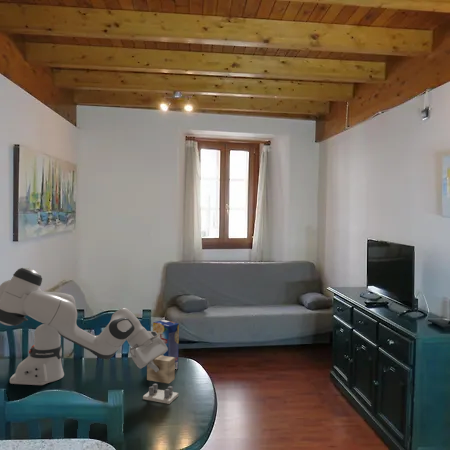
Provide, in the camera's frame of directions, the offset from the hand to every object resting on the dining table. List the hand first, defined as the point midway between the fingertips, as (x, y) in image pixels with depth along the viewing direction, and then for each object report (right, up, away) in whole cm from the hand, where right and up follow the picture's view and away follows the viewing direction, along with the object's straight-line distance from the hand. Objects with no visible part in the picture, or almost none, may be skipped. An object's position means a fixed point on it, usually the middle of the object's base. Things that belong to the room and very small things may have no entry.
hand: (162, 368), depth 175 cm
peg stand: (-1, -12, +1) cm, 12 cm away
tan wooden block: (-1, -5, 0) cm, 5 cm away
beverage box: (-3, -11, +34) cm, 36 cm away
